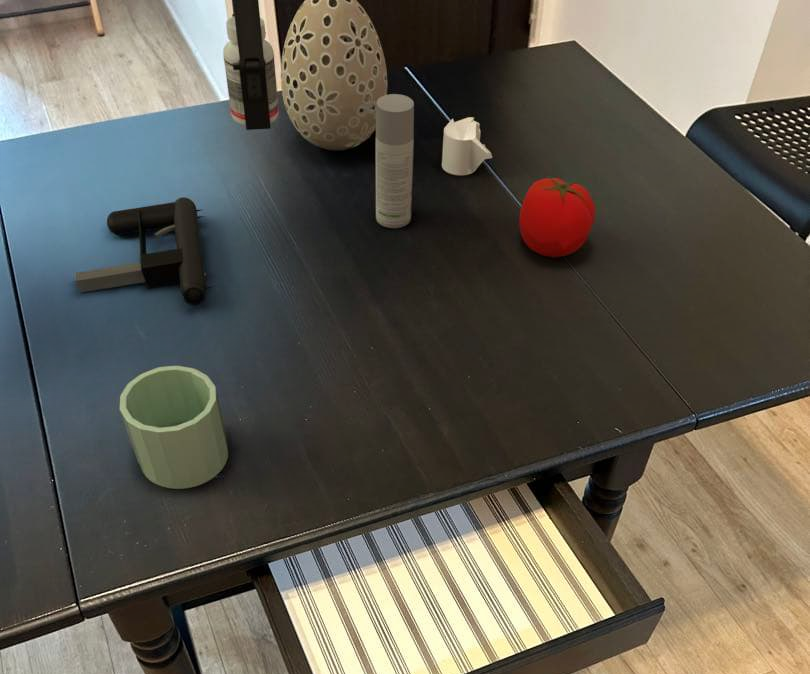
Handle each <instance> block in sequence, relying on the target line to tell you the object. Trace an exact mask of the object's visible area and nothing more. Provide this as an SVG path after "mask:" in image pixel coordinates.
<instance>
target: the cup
mask: <svg viewBox="0 0 810 674" xmlns="http://www.w3.org/2000/svg"><path fill="white" fill-rule="evenodd" d="M219 400H220V399H219V396H218V392H217V387H216V385H215V384H214V382H213V381H212V380H211V378H210V376H208V374H205V373H204V372H201V371H200V370H198V369H196V368H193V367H187V366H182V365H169V366H158V367H156V368H153V369H150V370H148V371H145V372H143V373H141V374H139V375H137V376H135V378H133V379H132V380H131V381H129V382H128V383H127V384H126V386H125V388H124V389H123V391H122V392H121V394H120V397H119V412H120V415H121V418H122V420H123V423H124V425H125V429H126V432H127V435H128V438H129V440H130V443H131V446H132V449H133V452H134V455H135V458H136V461H137V463H138V465H139V467H140V469H141V472H142V473H143V475H144V476H145V477H146V478H147V480H149V481H150V482H152V484H155V485H157V486H159V487H162V488H167V489H173V490H184V489H191V488H195V487H198V486H201V485H203V484H205V483H207V482H209V481H211V480H213V479H214V478H215V477H217V475H219V473H221V471H222V470H223V469H224V467H225V466H226V464H227V461H228V459H229V447H228V446H229V445H228V439H227V433H226V429H225V424H224V420H223V415H222V411H221V406H220V401H219Z"/></svg>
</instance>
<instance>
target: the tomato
mask: <svg viewBox="0 0 810 674" xmlns="http://www.w3.org/2000/svg"><path fill="white" fill-rule="evenodd" d="M547 177H548V178H541V179H538V180H536V181H534V182H533V183H532V185H530V187H529V188H528V190H527V192H526V193H525V197H524V198H523V201H522V204H521V208H520V211H519V221H518V222H519V224H518V227H519V231H520V234H521V238H522V240H523V241H524V244H525V245H526V246H527V247H528V248H529V249H530V250H532V251H533V252H535V253H537V254H539V255H541V256H543V257H549V258H560V257H565V256H570V255H572V254H573V253H575V252H576V251H578V250H579V249H580V248H581V247H583V246H584V244H585V242H586V241H587V238H588V236H589V234H590V231H591V228H592V227H593V225H594V222H595V218H596V217H595V216H596V215H595V214H596V207H595V204H594V201H593V198H592V196H591V195H590V194H589V192H588V190H587V189H586V188H585V187H584V186H583V185H581V184H578V183H575V182H570V181H567V182H566V181H563V180H562V179H560V178H558V177H551V176H550V175H548V174H547Z"/></svg>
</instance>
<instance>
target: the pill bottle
mask: <svg viewBox="0 0 810 674" xmlns="http://www.w3.org/2000/svg"><path fill="white" fill-rule="evenodd" d="M260 23H261V33H262V43H263V54H264V60H265V61H266V66H265V72H266V83H267V93H268V104H269V115H270V124H273V123H274V122H275V121H276V120H277V119H278V117H279V114H280V113H279V99H278V87H277V77H276V76H277V74H276V63H275V53H274V48H273V46H272V45H271V43H270V42H269V41H268V40H266V35H267V31H266V24H265V21H264V19H263V18H262V17H260ZM225 25H226V34H227V39H228V41H227V42H226V43H225V44H224V46H223V50H222V56H223V57H222V58H223V63H224V70H225V79H226V83H227V84H226V85H227V92H228V93H227V94H228V101H229V108H230V115H231V118H232V120H233V121H234V122H235V123H237V124H239V125H242V126H243V127H244V126H245V127H246V123H245V114H244V106H243V98H242V89H241V81H240V72H239V70H233V63H238V61H239V60H240V59H239V51H238V42H237V34H236V25H235V17H232V16H231V17H229V18H228V19H227V21H226V24H225Z"/></svg>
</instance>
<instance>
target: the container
mask: <svg viewBox="0 0 810 674" xmlns="http://www.w3.org/2000/svg"><path fill="white" fill-rule="evenodd" d="M414 121H415V102H414V100H413V99H412V98H410V97H409V96H407V95H404V94H398V93H390V94H387V95H385V96H382V97H380V98H379V99H378V100H377V106H376V129H375V220H376V222H377V223H378V224H379V225H381V226H382V227H385V228H389V229H399V228H400V229H401V228H403V227H406V226H407V225H408V224H409V223H410V222H411V220H412V199H413V171H414V141H415V140H414V136H415V135H414V134H415V133H414V128H415V127H414V126H415V124H414V123H415V122H414Z"/></svg>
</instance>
